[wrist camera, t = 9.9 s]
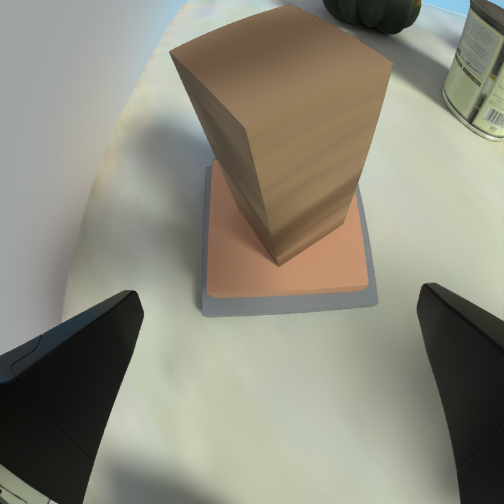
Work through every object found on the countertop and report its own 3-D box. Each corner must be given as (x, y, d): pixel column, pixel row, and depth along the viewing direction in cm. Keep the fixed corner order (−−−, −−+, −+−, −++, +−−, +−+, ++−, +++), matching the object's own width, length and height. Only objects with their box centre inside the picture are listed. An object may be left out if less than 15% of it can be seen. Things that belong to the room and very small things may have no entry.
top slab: (361, 291, 19) (368, 284, 17) (214, 298, 20) (206, 292, 18) (342, 165, 22) (346, 150, 20) (219, 173, 23) (212, 159, 21)
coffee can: (476, 82, 25) (506, 7, 12) (519, 140, 22) (568, 66, 8) (425, 80, 26) (451, -13, 12) (472, 145, 22) (528, 47, 9)
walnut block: (343, 224, 18) (393, 63, 6) (278, 267, 18) (245, 128, 6) (298, 169, 20) (289, 4, 8) (237, 206, 20) (169, 51, 8)
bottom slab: (370, 307, 20) (378, 303, 18) (209, 318, 21) (202, 315, 20) (347, 168, 24) (351, 155, 22) (212, 179, 25) (206, 167, 24)
